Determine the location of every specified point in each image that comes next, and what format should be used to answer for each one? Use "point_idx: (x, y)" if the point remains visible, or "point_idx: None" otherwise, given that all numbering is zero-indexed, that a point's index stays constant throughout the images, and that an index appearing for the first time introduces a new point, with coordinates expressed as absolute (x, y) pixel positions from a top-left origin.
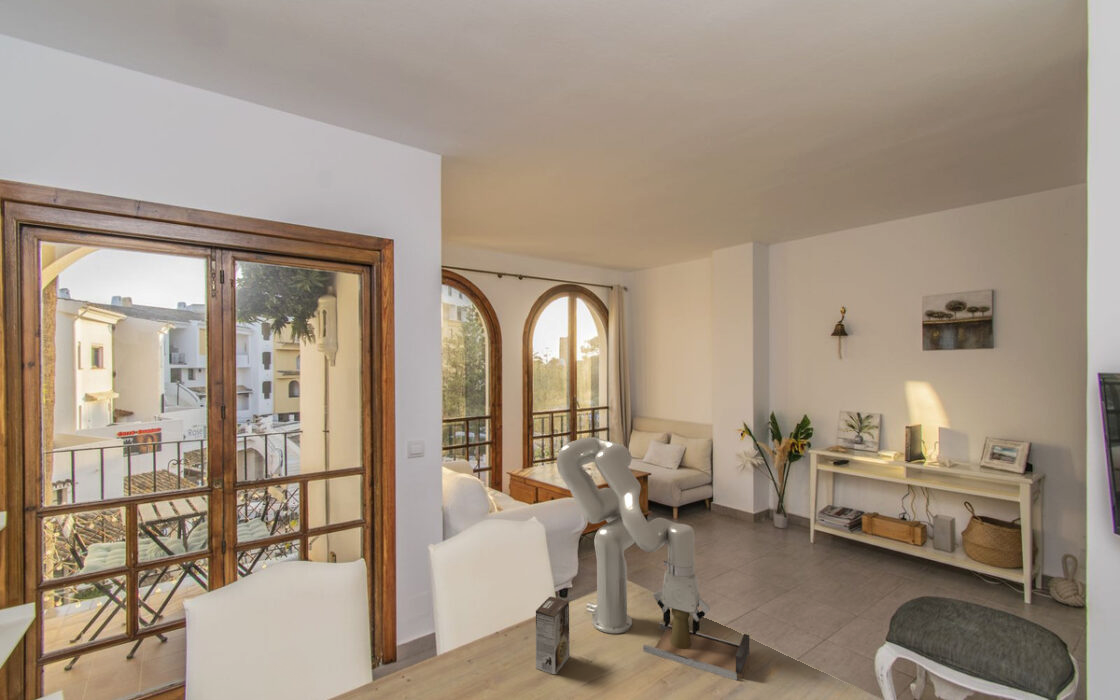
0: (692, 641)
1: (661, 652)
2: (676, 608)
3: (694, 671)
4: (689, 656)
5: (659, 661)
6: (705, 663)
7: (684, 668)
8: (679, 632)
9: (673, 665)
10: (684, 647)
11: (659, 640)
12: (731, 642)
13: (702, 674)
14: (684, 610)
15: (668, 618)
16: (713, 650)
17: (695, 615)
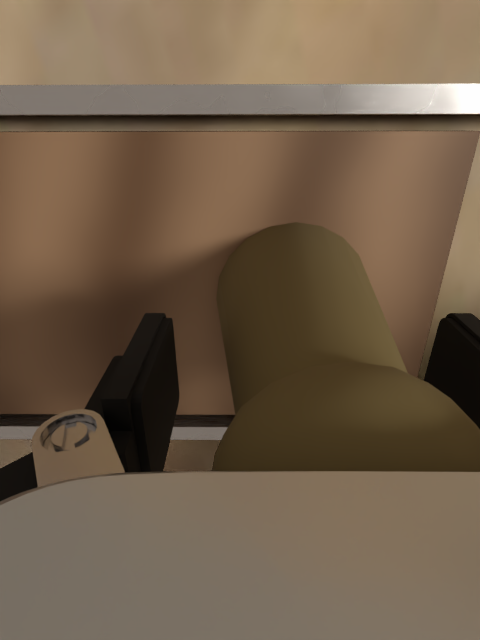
0: (222, 350)
1: (413, 86)
2: (465, 486)
3: (104, 25)
4: (180, 155)
5: (406, 5)
6: (22, 104)
7: (187, 22)
8: (301, 280)
9: (281, 13)
10: (246, 241)
11: (448, 251)
12: (12, 435)
13: (35, 17)
14: (242, 486)
15: (464, 392)
16: (66, 318)
17: (64, 476)
